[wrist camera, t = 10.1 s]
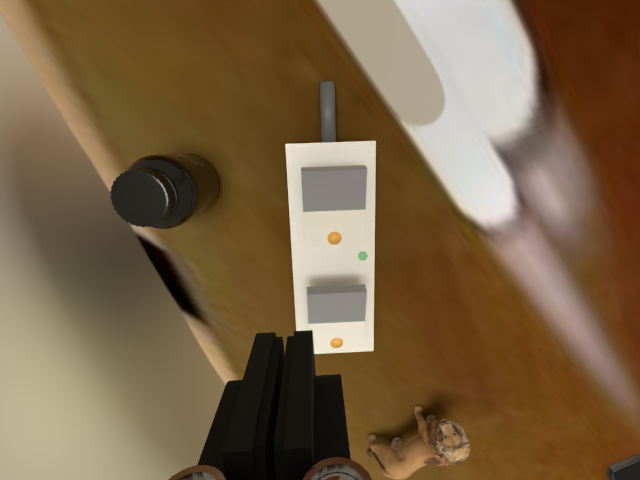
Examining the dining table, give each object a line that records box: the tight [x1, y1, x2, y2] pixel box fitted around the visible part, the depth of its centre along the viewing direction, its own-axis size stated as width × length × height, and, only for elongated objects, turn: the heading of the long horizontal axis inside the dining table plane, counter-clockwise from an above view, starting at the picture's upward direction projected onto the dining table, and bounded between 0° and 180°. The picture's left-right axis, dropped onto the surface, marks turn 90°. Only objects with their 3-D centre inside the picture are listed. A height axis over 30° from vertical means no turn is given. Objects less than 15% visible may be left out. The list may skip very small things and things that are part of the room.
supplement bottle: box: [110, 154, 219, 229], centre depth 33 cm, size 7×7×12 cm
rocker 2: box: [307, 284, 367, 350], centre depth 36 cm, size 6×8×2 cm
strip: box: [285, 81, 376, 354], centre depth 38 cm, size 9×30×6 cm, turn 2°
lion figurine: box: [368, 406, 470, 480], centre depth 45 cm, size 15×5×9 cm, turn 134°
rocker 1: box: [301, 165, 367, 248], centre depth 33 cm, size 6×8×2 cm
